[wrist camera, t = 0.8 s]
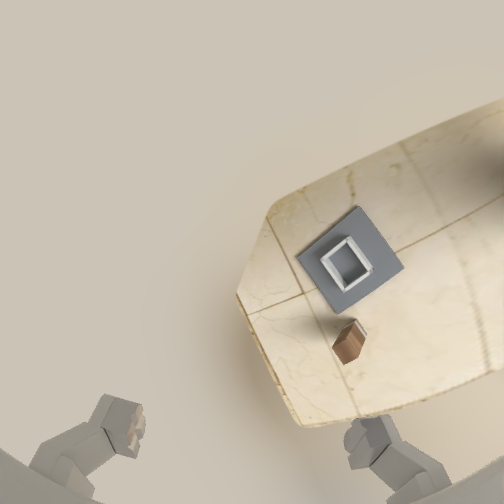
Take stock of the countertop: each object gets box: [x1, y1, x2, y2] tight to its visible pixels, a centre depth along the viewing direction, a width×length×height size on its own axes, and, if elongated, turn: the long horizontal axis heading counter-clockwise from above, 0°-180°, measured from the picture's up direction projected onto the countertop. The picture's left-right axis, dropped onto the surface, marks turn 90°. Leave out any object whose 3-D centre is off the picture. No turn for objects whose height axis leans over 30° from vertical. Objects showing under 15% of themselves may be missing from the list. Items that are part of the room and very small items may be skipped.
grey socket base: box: [297, 206, 404, 315], centre depth 48 cm, size 16×14×4 cm
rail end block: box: [332, 319, 367, 365], centre depth 46 cm, size 3×4×10 cm
